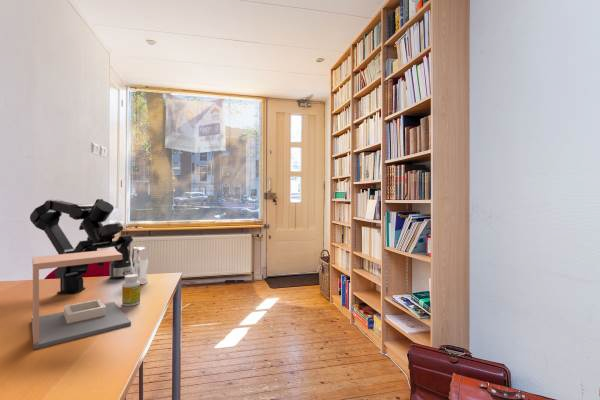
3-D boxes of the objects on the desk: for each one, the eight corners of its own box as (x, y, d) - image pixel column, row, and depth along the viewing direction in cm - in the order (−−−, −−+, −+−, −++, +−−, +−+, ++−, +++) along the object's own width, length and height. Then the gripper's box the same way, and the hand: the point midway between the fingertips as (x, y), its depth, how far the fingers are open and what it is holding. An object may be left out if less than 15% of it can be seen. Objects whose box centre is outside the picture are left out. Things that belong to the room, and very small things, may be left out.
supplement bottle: (132, 307, 101) (132, 278, 101) (118, 305, 102) (118, 277, 102) (143, 301, 106) (143, 274, 106) (130, 300, 107) (130, 273, 107)
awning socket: (31, 321, 89) (31, 251, 88) (114, 304, 103) (114, 244, 103) (33, 349, 72) (33, 264, 72) (131, 325, 87) (131, 254, 86)
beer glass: (152, 281, 131) (152, 247, 131) (139, 286, 124) (139, 249, 124) (140, 280, 133) (140, 246, 133) (126, 284, 126) (126, 248, 126)
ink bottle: (115, 280, 132) (115, 253, 132) (104, 277, 137) (104, 251, 137) (136, 275, 141) (137, 250, 140) (126, 273, 145) (126, 248, 145)
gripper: (78, 217, 100) (100, 252, 96) (129, 214, 117) (150, 244, 113) (64, 239, 103) (84, 274, 99) (115, 233, 121) (135, 263, 116)
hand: (116, 263), depth 107 cm, fingers open, 9 cm apart
